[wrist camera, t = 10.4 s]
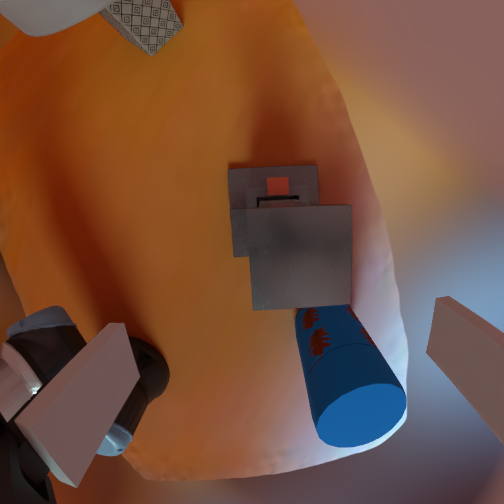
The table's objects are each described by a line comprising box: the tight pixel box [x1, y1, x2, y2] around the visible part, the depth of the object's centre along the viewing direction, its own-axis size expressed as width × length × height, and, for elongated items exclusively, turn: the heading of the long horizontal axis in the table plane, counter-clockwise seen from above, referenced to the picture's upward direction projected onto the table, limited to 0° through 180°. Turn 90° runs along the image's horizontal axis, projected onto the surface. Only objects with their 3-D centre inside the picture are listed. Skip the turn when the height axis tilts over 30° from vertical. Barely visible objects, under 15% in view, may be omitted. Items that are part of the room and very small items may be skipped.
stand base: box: [228, 165, 319, 257], centre depth 39 cm, size 14×14×13 cm
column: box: [246, 199, 352, 310], centre depth 25 cm, size 5×5×23 cm
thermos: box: [295, 304, 406, 447], centre depth 37 cm, size 11×11×25 cm
